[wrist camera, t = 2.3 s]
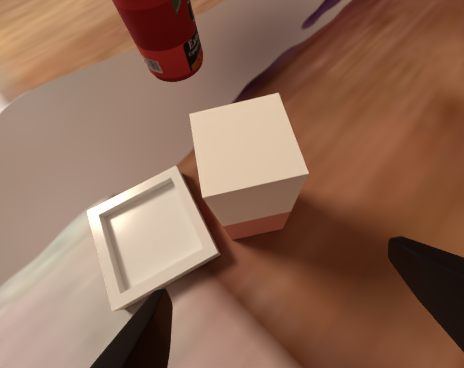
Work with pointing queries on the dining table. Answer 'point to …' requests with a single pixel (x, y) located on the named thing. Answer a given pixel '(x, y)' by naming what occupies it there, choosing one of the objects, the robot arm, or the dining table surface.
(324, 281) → the dining table surface
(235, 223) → the two tone block
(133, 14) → the canned food
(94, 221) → the white tray
